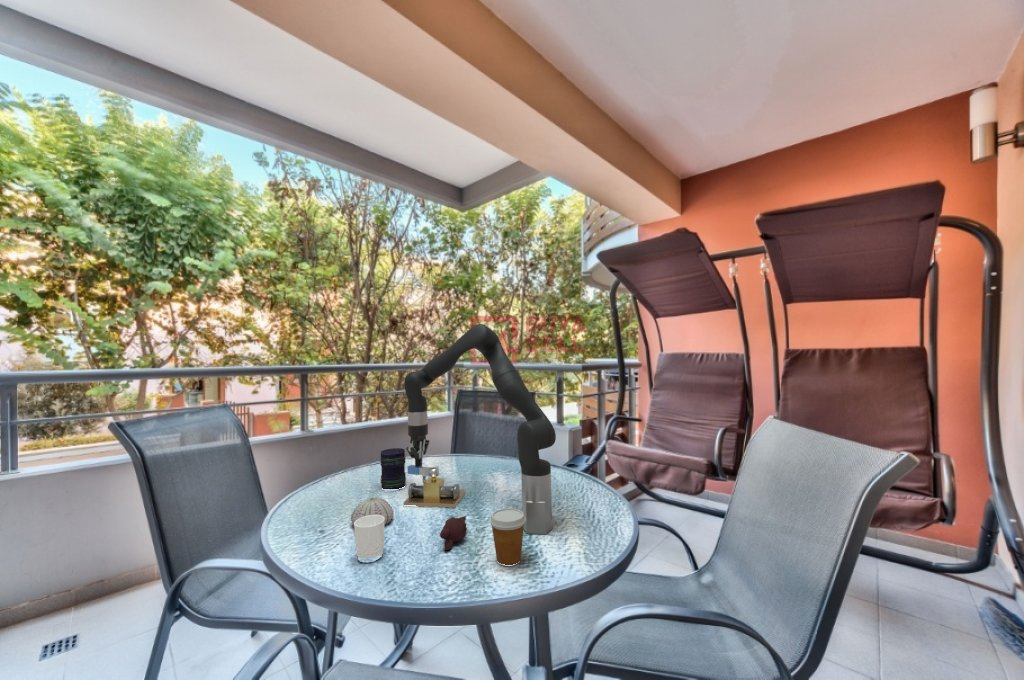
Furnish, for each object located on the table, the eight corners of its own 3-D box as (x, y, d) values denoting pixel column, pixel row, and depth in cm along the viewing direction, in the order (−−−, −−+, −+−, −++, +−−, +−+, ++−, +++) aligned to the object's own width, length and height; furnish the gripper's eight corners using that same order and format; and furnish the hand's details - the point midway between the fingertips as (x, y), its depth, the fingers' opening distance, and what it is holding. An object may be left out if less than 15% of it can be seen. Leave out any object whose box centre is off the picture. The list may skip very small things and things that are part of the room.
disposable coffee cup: (483, 561, 107) (482, 515, 108) (509, 547, 114) (508, 504, 114) (508, 574, 101) (507, 525, 101) (534, 559, 107) (532, 514, 108)
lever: (440, 474, 152) (440, 467, 152) (435, 477, 149) (435, 470, 149) (412, 471, 157) (412, 464, 157) (406, 474, 154) (406, 466, 154)
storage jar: (375, 490, 164) (375, 453, 164) (390, 482, 173) (389, 447, 173) (397, 492, 161) (396, 454, 161) (410, 484, 170) (409, 448, 170)
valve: (454, 508, 144) (453, 478, 144) (403, 506, 146) (402, 477, 147) (464, 493, 157) (464, 466, 158) (418, 492, 160) (417, 465, 160)
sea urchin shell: (368, 513, 142) (368, 490, 142) (402, 517, 137) (401, 493, 138) (341, 529, 129) (341, 504, 129) (378, 534, 125) (377, 508, 125)
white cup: (375, 547, 116) (374, 512, 117) (391, 555, 111) (390, 519, 112) (349, 559, 110) (348, 522, 111) (364, 568, 105) (364, 529, 106)
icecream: (451, 507, 128) (428, 533, 114) (472, 504, 126) (451, 529, 111) (458, 528, 128) (435, 556, 114) (478, 525, 126) (458, 553, 111)
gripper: (416, 426, 150) (417, 474, 150) (435, 420, 162) (436, 463, 162) (399, 425, 152) (400, 472, 152) (418, 419, 165) (419, 461, 165)
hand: (418, 467), depth 157 cm, fingers closed
